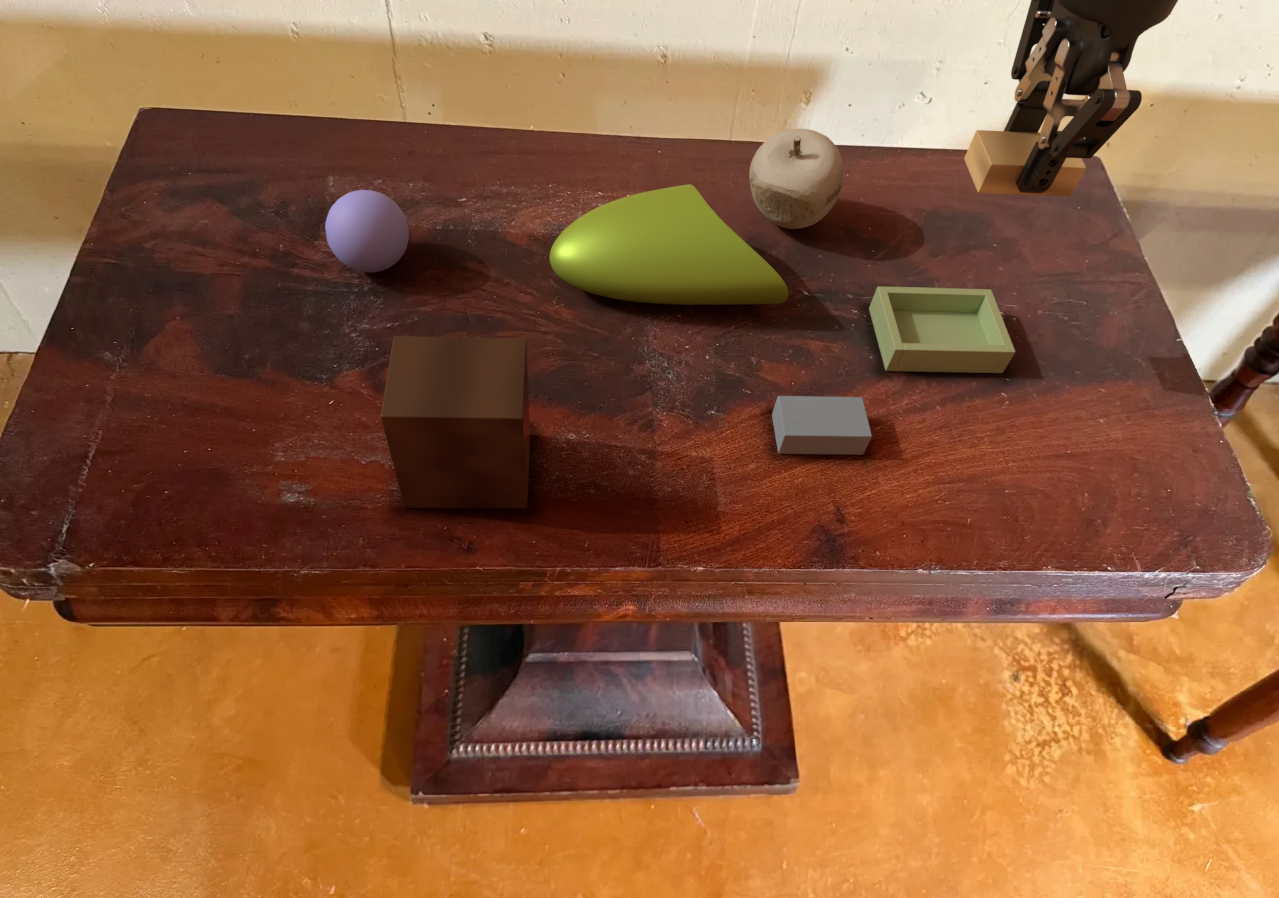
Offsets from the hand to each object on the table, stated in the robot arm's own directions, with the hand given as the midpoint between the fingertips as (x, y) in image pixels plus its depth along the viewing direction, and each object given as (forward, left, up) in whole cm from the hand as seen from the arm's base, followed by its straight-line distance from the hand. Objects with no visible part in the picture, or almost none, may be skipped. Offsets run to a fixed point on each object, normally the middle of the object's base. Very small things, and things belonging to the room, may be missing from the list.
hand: (1020, 168), depth 65 cm
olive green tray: (0, 0, -18) cm, 18 cm away
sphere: (+33, +38, -19) cm, 54 cm away
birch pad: (0, 0, -1) cm, 1 cm away
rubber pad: (-3, +16, -18) cm, 25 cm away
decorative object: (+19, +1, -19) cm, 27 cm away
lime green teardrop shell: (+18, +17, -19) cm, 31 cm away
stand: (+9, +42, -18) cm, 47 cm away
